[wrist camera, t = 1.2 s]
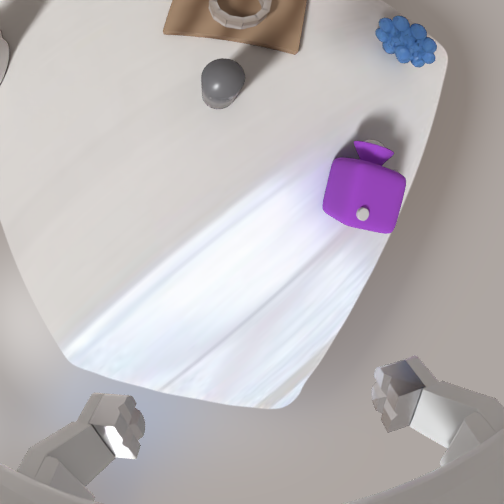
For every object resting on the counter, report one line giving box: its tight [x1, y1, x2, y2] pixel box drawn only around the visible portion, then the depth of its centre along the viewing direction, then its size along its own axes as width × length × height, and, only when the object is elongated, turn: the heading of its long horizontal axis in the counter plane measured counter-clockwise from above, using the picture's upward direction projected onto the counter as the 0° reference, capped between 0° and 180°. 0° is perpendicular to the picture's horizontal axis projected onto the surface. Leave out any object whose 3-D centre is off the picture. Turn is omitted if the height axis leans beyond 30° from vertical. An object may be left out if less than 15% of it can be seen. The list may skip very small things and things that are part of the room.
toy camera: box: [323, 140, 406, 233], centre depth 39 cm, size 11×14×10 cm
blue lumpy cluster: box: [375, 16, 437, 67], centre depth 31 cm, size 12×7×12 cm, turn 65°
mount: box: [163, 0, 307, 55], centre depth 29 cm, size 20×12×4 cm, turn 80°
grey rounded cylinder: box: [201, 59, 245, 109], centre depth 32 cm, size 5×5×10 cm
